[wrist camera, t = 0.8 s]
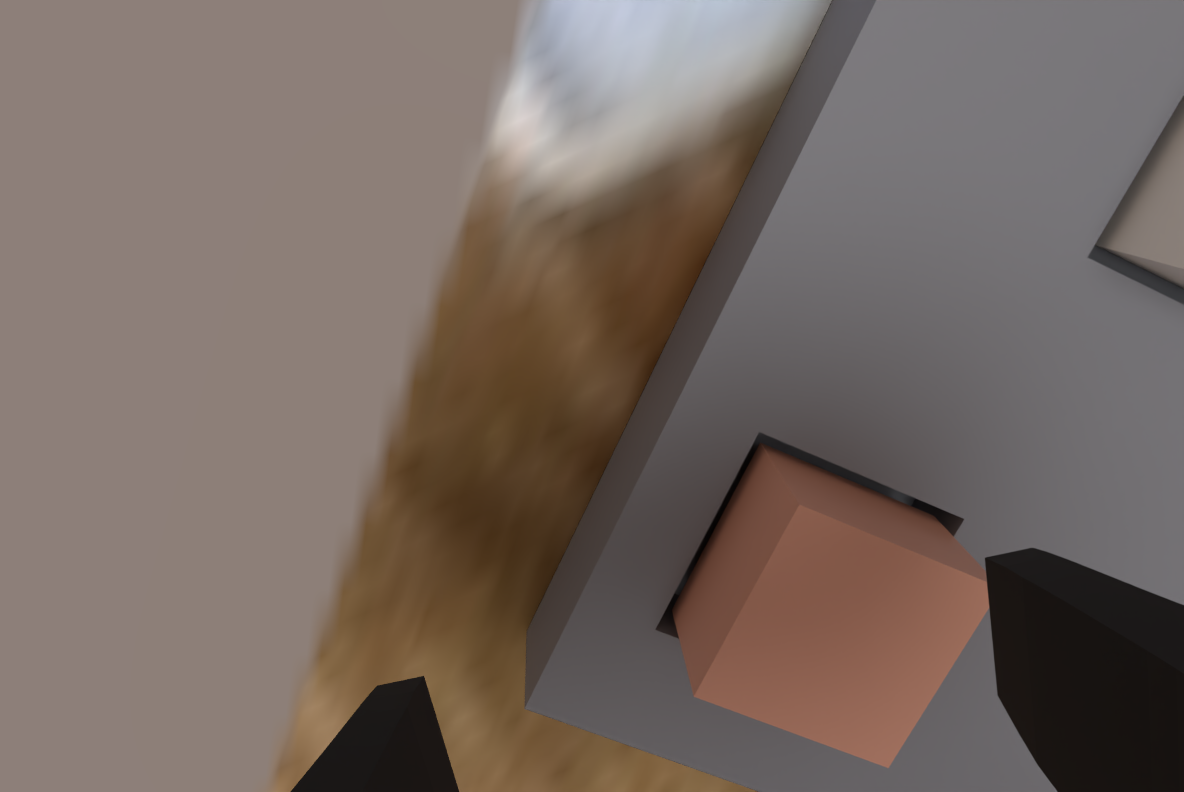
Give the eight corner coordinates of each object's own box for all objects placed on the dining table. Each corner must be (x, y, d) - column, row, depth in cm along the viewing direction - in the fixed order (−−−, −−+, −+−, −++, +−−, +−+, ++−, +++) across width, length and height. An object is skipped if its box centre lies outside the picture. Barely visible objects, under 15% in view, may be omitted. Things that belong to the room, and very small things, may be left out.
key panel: (1456, 31, 20) (1612, 20, 17) (958, 790, 25) (1013, 881, 22) (958, -259, 18) (1038, -328, 15) (526, 631, 23) (524, 708, 20)
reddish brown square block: (934, 515, 20) (1001, 587, 17) (839, 674, 21) (888, 767, 18) (760, 442, 19) (799, 505, 16) (671, 610, 20) (693, 697, 17)
